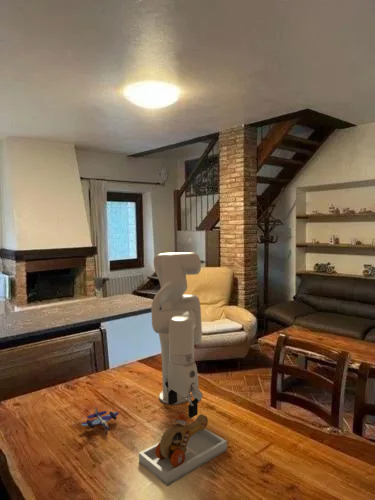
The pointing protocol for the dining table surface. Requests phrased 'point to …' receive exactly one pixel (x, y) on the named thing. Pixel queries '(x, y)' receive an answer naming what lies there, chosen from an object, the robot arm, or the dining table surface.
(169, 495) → the dining table surface
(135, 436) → the dining table surface
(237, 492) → the dining table surface
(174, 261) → the robot arm
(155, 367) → the dining table surface
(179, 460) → the toy helicopter
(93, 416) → the toy airplane
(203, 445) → the tray
